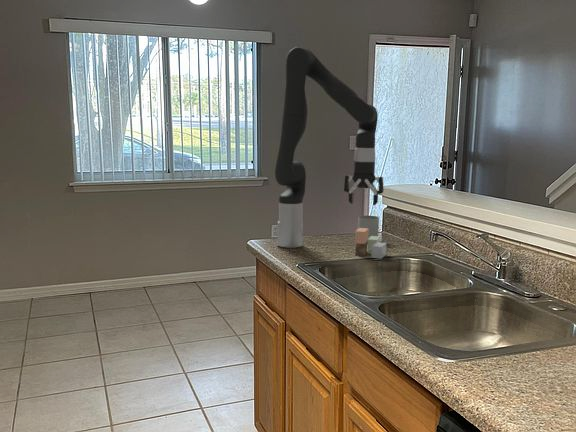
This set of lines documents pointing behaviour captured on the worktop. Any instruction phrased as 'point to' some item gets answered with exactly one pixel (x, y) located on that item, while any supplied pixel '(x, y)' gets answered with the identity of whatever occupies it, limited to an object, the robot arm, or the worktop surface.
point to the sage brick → (372, 241)
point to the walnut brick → (361, 249)
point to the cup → (369, 224)
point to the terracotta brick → (361, 235)
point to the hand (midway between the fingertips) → (363, 204)
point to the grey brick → (379, 250)
